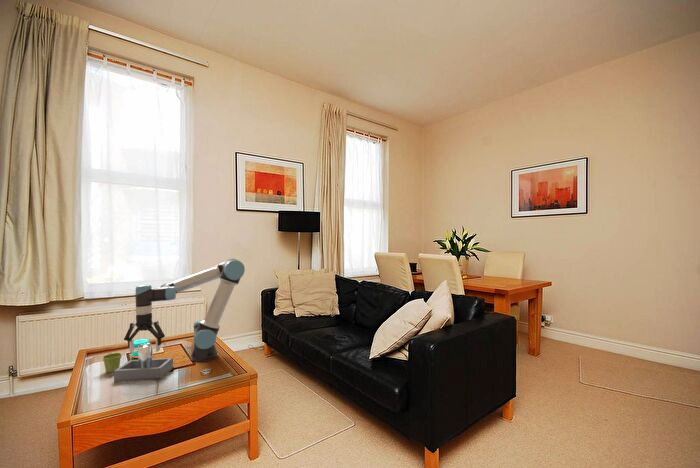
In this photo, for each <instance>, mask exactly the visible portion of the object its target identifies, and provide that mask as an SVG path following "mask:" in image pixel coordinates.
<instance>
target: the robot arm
mask: <svg viewBox="0 0 700 468" xmlns="http://www.w3.org/2000/svg"><path fill="white" fill-rule="evenodd" d="M245 271H246V270H245V265H244V264H243V262H242V261H241V260H239V259H236V258H229V259H226V260H225V261H223V262H220V263H218V264H216V265H215V266H214V267H211V268H209V269H206V270H205V269H204V270H203V271H200V272H197V273H194V274H191V275H188V276H186V277H182V278H180V279H177V280H174V281H171V282H168V283H164V284H161V286H159V287H152V285H151V284H140V285H136V286H135V298H134V299H135V314H136V315H135V322H134V321H132V322H130V323H129V328H128V330H127V332H126V334H125V336H124V337H123V341H127V346H128V348H129V354H132V353H133V352H135V348H134V341H135V340H134V338H135V337H136V335H137V334H138V333H140V331H141V332H142V331H148V332H149V333H151V334H152V335H153V336H154V338H155V352H156V353H158V352H160V350H161V348H160V347H161V346H162V339H163V338H165V337H166V336H165V333H164V332H163V330H162V328H161V326H160V322H159V321H158V320H156V321H153V313H152V312H153V308H152V307H153V306H152V305H153V302H154V303H155V302H163V301H174V300H176V298H177V294H178V293H181V292H184V291H187V290H190V289H193V288H196V287H199V286H202V285H204V284H207V283H210V282H212V281H215V280H218V279H219V280H220V282H219V283H218V286H217V289H216V291H215V294H214V296H213V299H212V301H211V303H210V305H209V308H208V309H207V312H206V315H205V317H204V319H203V320H198V321H195V322H194V323H193V349H192V352H191V355H190V360H191V361H192V362H195V363H197V362H198V363H199V362H202V363H203V362H207V361H212V360H214V359H216V358H217V357H218V350H217V347H216V345H215V344H216V342H217V335H218V332H219V331H220V328H221V327H220V323H221V322H220V321H221V319H222V317H223V315H224V312H225V310H226V307H227V305H228V302H229V301H230V299H231V295H232V293H233V291H234V288H235V287H236V286H238V284H239V283H240V281H241V278H242V277H243V276H244V274H245ZM135 327H136V328H135ZM134 328H135V330H134ZM133 330H134V331H133Z"/></svg>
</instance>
